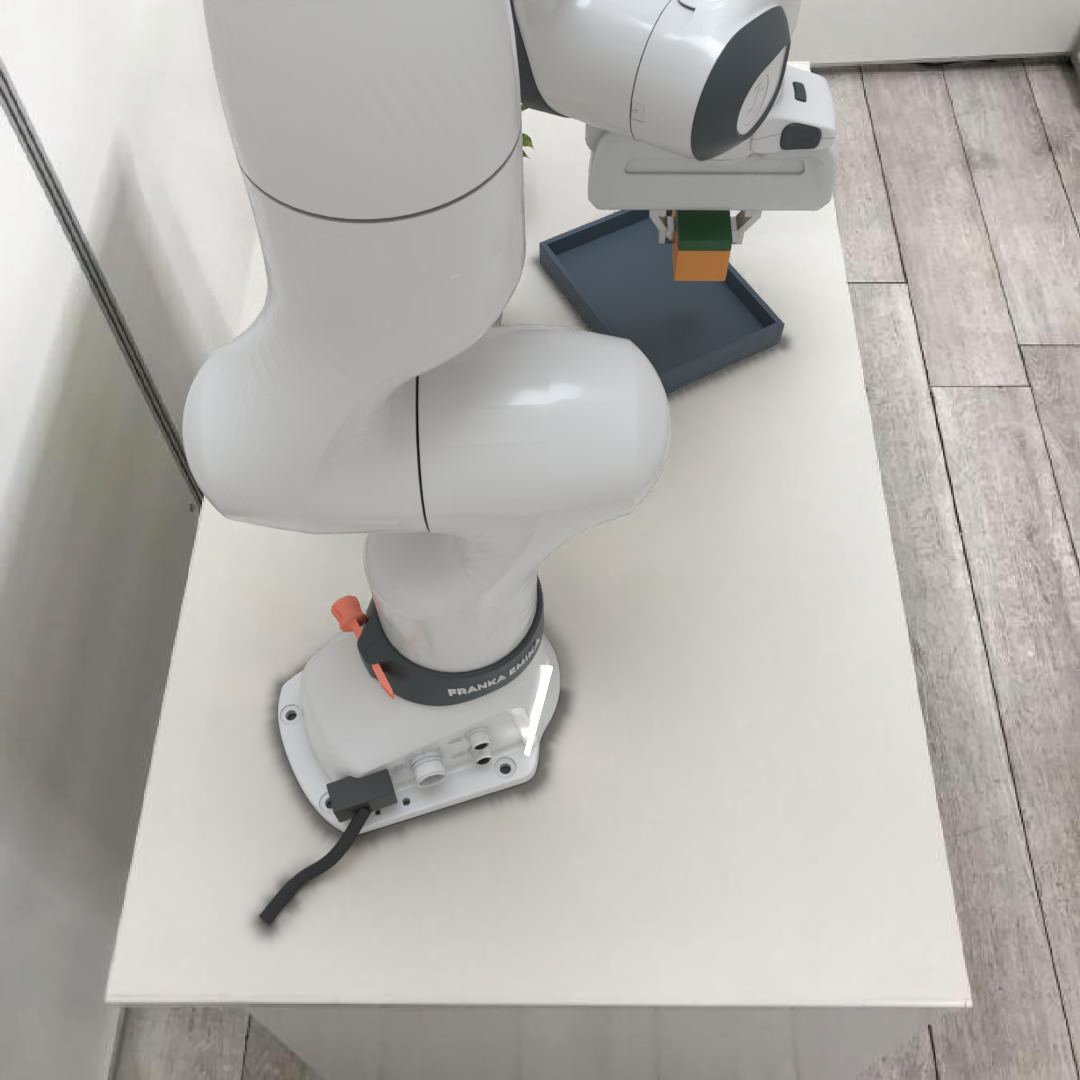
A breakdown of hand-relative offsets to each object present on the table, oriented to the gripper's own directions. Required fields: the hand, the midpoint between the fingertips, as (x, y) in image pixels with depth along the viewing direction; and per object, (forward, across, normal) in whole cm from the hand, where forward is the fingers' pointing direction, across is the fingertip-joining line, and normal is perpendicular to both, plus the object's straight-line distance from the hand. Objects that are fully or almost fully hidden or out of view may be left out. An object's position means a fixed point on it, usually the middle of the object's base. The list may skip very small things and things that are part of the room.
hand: (700, 239), depth 94 cm
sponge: (+2, 0, 0) cm, 2 cm away
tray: (+12, -3, +4) cm, 14 cm away
